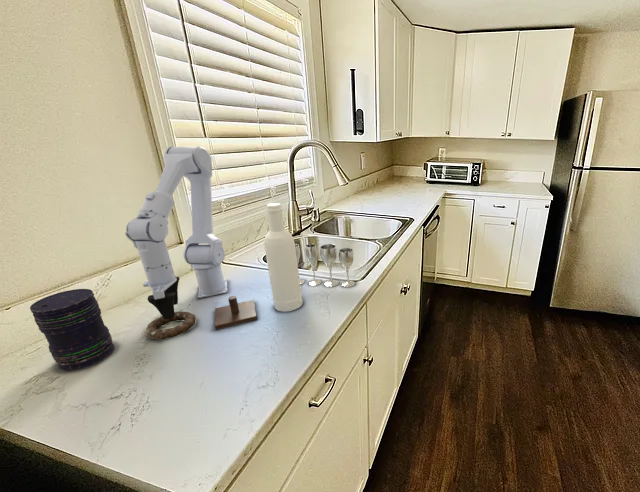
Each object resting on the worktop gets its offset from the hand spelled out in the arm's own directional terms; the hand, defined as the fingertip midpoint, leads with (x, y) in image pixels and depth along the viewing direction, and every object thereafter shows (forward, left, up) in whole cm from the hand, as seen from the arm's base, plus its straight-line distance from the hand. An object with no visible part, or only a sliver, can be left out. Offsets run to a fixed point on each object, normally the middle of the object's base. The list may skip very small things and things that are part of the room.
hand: (171, 311), depth 87 cm
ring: (+4, 0, -2) cm, 5 cm away
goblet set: (-5, +39, -3) cm, 39 cm away
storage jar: (+8, -16, -3) cm, 18 cm away
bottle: (+6, +29, -3) cm, 30 cm away
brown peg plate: (+5, +15, -3) cm, 16 cm away
